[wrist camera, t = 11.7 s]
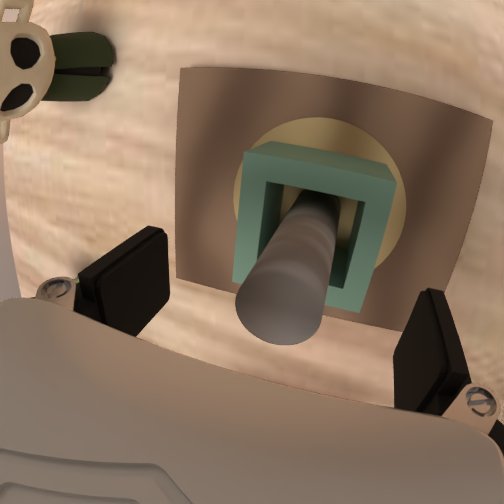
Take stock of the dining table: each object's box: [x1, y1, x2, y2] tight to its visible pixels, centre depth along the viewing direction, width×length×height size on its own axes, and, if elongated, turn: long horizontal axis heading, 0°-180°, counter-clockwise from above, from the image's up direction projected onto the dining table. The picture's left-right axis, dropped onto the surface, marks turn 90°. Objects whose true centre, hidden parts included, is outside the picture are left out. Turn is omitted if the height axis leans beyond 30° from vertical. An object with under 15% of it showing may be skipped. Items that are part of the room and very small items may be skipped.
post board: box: [175, 67, 493, 345], centre depth 16 cm, size 20×16×13 cm
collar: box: [232, 141, 397, 313], centre depth 17 cm, size 7×7×5 cm
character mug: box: [0, 0, 113, 144], centre depth 16 cm, size 11×7×13 cm, turn 160°
